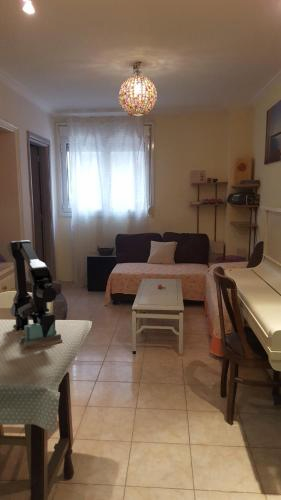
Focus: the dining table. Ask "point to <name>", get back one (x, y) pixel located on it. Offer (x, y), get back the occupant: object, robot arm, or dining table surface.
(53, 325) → the door panel
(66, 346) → the dining table surface
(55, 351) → the dining table surface
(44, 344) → the track
